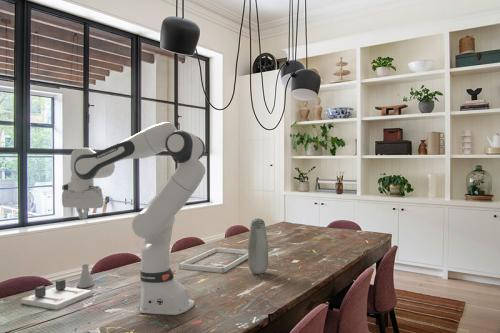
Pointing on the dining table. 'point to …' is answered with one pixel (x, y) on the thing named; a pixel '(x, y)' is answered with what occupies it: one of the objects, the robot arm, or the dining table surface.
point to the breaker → (60, 284)
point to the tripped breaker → (40, 291)
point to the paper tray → (214, 269)
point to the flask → (85, 277)
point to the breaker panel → (57, 298)
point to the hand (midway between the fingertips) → (83, 218)
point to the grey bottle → (258, 247)
